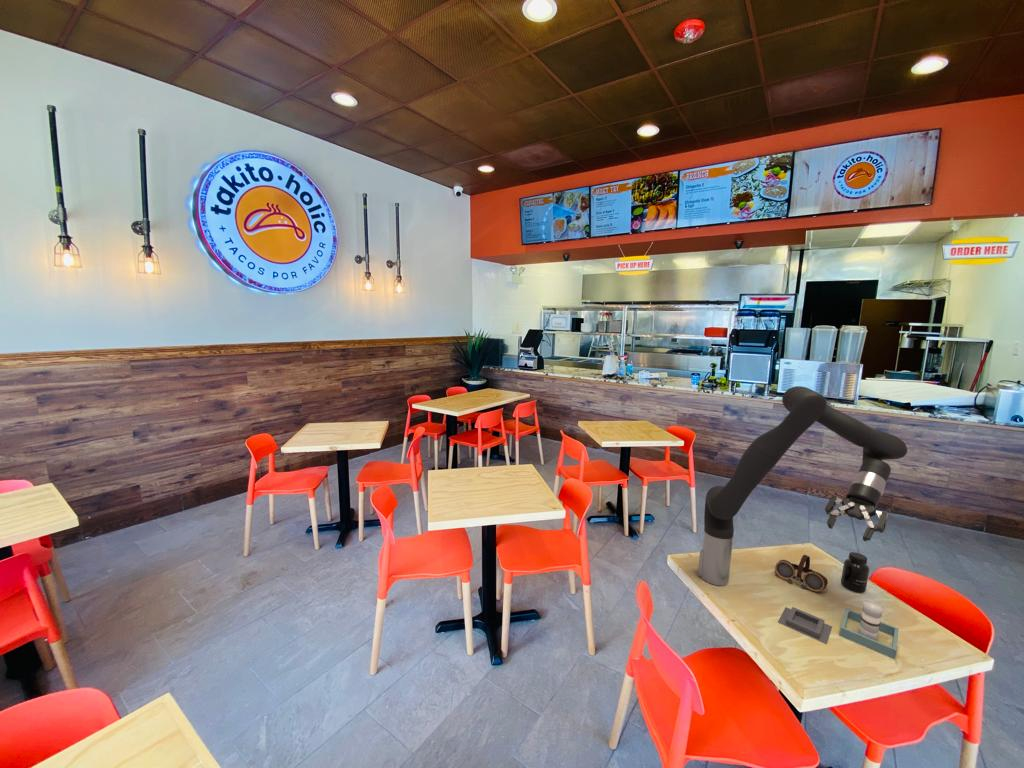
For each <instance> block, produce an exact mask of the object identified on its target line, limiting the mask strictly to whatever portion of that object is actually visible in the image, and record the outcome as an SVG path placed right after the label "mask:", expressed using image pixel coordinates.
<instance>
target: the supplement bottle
mask: <svg viewBox="0 0 1024 768" xmlns="http://www.w3.org/2000/svg"><path fill="white" fill-rule="evenodd" d="M867 563H868V557H867V556H866V555H864V554H862V553H859V552H856V551H850V552H849V554H848V557H847V558H846V559H844V561H843V566H842V572H841V579H840V584H841V586H842V587H843V588H845V589H846V590H848V591H850V592H853V593H855V594H856V593H858V594H863V593H865V592H866V590H867V586H868V579H869V575H870V567H869V566H868V564H867Z"/></svg>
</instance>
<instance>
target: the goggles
mask: <svg viewBox="0 0 1024 768" xmlns="http://www.w3.org/2000/svg"><path fill="white" fill-rule="evenodd" d="M810 566H811V557H810V556H809V555H807V554H803V555H802V557H801V559H800V561H799V563H798V564H796V563H792V562H790V561H789V560H787V559H781V560H779V561H777V563H776V564H775V565H774V569H775V571H774V572H775V574H776V575H777V576H778V577H779V578H781V579H783V580H786V581H787V583H788V584H793V583H794V581H798V582H799V584H800V586H801V588H802V589H803V590H807V589H808V590H809V591H811V592H821V591H824V590H825V589H826V588H827V586H828V584H829V581H828V579H827V577H826V576H824V575H823V574H822V573H821V572H818V571H816V570H813V569H810ZM803 573H805V574H804V575H803V576H802V574H803Z"/></svg>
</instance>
